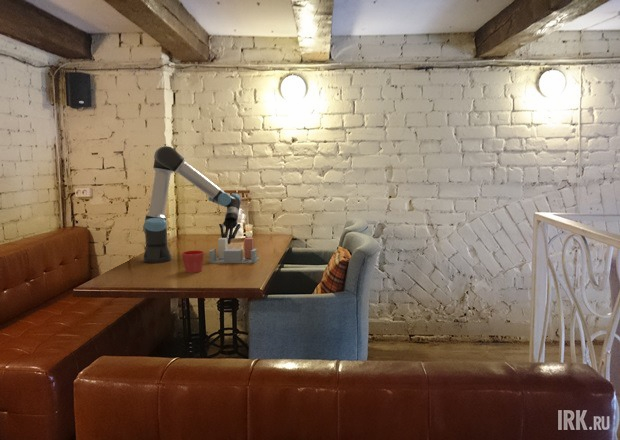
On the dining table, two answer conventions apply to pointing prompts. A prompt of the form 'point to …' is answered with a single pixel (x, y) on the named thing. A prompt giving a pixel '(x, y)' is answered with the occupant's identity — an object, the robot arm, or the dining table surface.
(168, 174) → the robot arm
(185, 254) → the flower pot
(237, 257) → the slot block
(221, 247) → the cream plug
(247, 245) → the red plug
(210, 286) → the dining table surface
